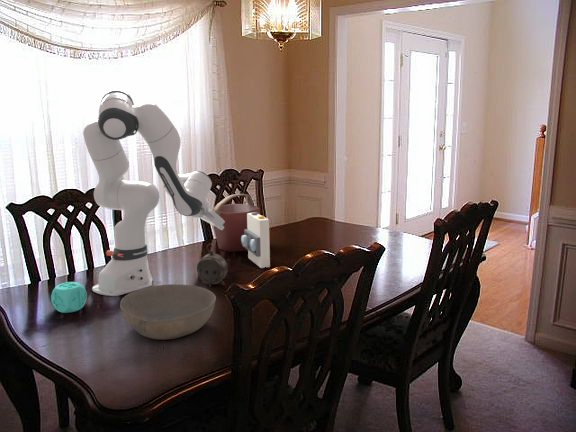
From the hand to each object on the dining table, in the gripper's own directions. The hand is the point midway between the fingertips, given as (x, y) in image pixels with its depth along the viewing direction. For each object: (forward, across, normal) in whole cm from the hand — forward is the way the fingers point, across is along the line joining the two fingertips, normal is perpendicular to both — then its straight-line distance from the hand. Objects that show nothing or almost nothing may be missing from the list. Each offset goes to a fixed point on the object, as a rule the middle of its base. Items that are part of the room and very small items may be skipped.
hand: (222, 228), depth 212 cm
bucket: (+24, +28, -1) cm, 37 cm away
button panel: (+23, 0, +1) cm, 23 cm away
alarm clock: (+5, -18, +20) cm, 27 cm away
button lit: (+16, -3, -2) cm, 17 cm away
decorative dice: (-29, -15, +56) cm, 65 cm away
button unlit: (+16, +5, -1) cm, 16 cm away
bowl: (-12, -48, +38) cm, 62 cm away
